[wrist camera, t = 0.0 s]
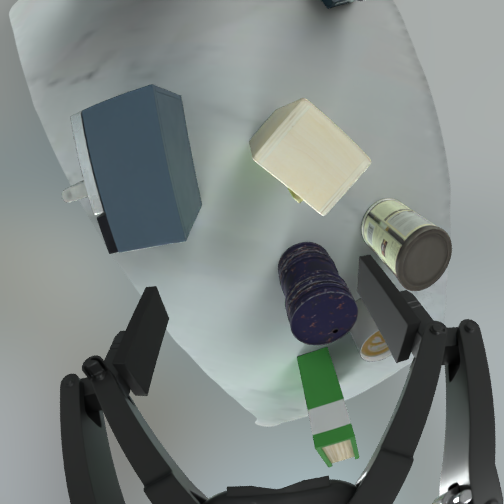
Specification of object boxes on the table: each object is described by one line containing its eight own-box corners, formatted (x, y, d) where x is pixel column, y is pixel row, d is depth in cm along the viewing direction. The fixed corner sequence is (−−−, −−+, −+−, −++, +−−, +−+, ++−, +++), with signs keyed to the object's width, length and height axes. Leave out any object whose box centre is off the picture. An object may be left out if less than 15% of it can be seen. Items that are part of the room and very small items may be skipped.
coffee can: (413, 233, 47) (454, 269, 34) (370, 258, 49) (404, 302, 36) (399, 187, 42) (447, 215, 30) (353, 213, 45) (390, 250, 32)
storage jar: (265, 264, 48) (274, 321, 35) (310, 230, 46) (336, 277, 32) (298, 297, 52) (315, 355, 39) (340, 267, 49) (369, 319, 36)
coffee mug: (340, 308, 54) (355, 341, 45) (382, 287, 52) (403, 317, 43) (354, 344, 59) (367, 376, 50) (390, 326, 57) (407, 355, 48)
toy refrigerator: (244, 144, 39) (245, 165, 20) (274, 108, 37) (306, 95, 18) (284, 176, 41) (320, 225, 23) (314, 141, 39) (376, 162, 20)
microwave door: (101, 195, 41) (57, 225, 29) (85, 127, 35) (34, 135, 23) (141, 184, 41) (103, 212, 29) (125, 111, 35) (80, 111, 23)
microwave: (138, 217, 43) (103, 255, 31) (114, 115, 35) (65, 118, 23) (202, 205, 43) (186, 241, 31) (180, 95, 35) (152, 84, 22)
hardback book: (338, 383, 66) (359, 457, 45) (312, 392, 67) (328, 467, 46) (327, 346, 59) (354, 436, 37) (296, 356, 60) (315, 448, 38)
